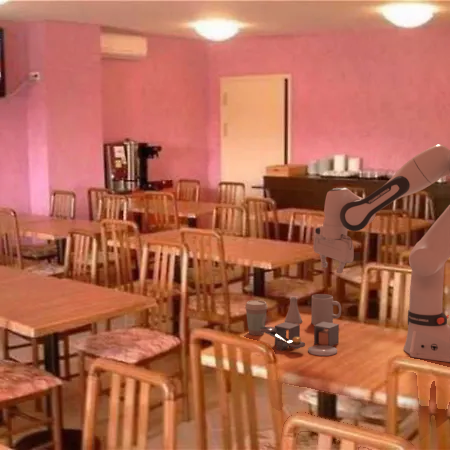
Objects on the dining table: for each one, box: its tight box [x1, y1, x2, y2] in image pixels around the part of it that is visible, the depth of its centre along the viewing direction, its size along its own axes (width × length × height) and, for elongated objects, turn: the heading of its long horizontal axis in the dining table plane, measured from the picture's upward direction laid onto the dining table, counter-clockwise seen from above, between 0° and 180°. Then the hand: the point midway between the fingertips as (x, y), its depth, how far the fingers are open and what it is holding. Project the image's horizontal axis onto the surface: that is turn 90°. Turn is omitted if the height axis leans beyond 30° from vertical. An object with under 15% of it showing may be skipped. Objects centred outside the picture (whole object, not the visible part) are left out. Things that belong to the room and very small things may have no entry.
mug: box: [310, 293, 342, 326], centre depth 305 cm, size 12×8×11 cm
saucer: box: [307, 344, 338, 357], centre depth 269 cm, size 10×10×1 cm
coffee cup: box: [244, 299, 269, 336], centre depth 292 cm, size 8×9×12 cm
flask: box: [284, 296, 303, 325], centre depth 308 cm, size 7×7×10 cm
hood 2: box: [313, 322, 340, 347], centre depth 278 cm, size 6×6×7 cm
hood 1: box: [274, 321, 301, 349], centre depth 278 cm, size 6×6×7 cm
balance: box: [260, 326, 306, 352], centre depth 273 cm, size 18×6×6 cm, turn 51°
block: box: [318, 329, 328, 345], centre depth 279 cm, size 4×4×4 cm
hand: (331, 269), depth 279 cm, fingers open, 8 cm apart
